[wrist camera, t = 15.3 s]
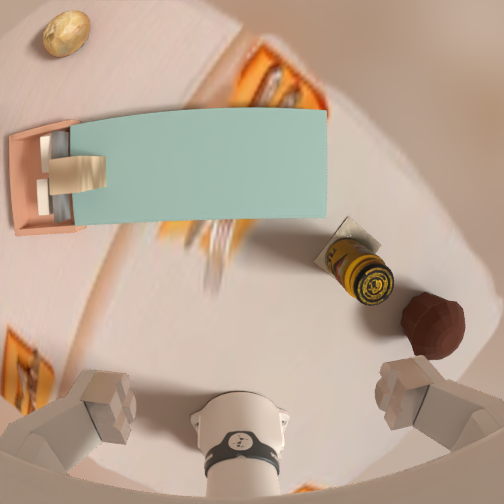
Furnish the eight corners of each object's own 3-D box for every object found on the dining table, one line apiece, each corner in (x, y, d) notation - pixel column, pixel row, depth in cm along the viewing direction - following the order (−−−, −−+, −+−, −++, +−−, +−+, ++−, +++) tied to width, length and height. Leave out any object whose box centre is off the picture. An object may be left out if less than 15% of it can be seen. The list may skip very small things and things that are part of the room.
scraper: (107, 216, 38) (80, 229, 30) (65, 218, 37) (34, 230, 30) (106, 126, 34) (78, 119, 27) (62, 133, 34) (30, 129, 26)
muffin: (382, 324, 49) (408, 355, 39) (422, 273, 47) (455, 296, 37) (418, 350, 51) (443, 379, 42) (453, 305, 49) (484, 328, 40)
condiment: (313, 262, 45) (337, 294, 34) (348, 216, 44) (384, 234, 32) (347, 287, 47) (378, 323, 35) (380, 244, 45) (420, 269, 34)
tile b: (54, 171, 34) (42, 172, 34) (64, 163, 38) (53, 164, 38) (52, 135, 32) (40, 137, 31) (63, 130, 36) (51, 132, 35)
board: (318, 213, 43) (326, 217, 39) (87, 220, 42) (75, 225, 38) (318, 115, 39) (326, 110, 36) (83, 128, 38) (70, 125, 34)
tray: (86, 227, 42) (75, 232, 38) (27, 231, 41) (15, 236, 38) (81, 122, 37) (70, 119, 34) (21, 136, 37) (9, 135, 33)
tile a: (49, 214, 35) (38, 215, 35) (66, 209, 40) (56, 209, 40) (47, 178, 34) (36, 179, 34) (64, 176, 39) (54, 177, 39)
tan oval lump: (68, 17, 32) (48, 1, 25) (104, 20, 33) (87, 2, 26) (47, 58, 34) (24, 47, 27) (82, 63, 35) (61, 50, 28)
